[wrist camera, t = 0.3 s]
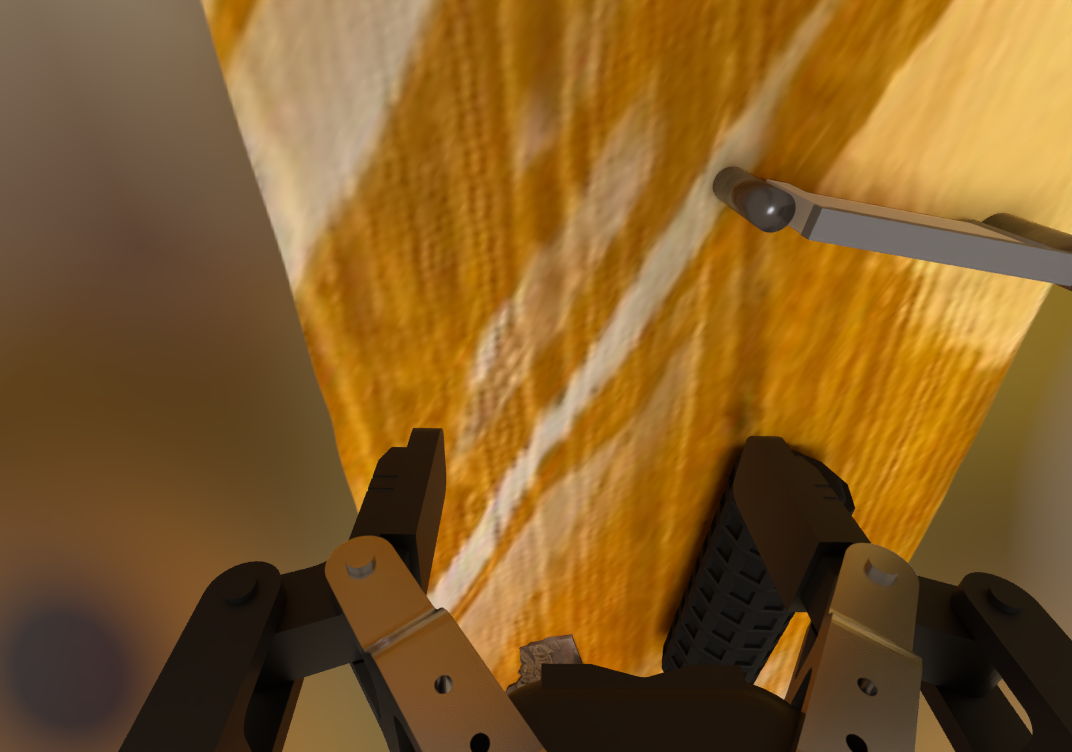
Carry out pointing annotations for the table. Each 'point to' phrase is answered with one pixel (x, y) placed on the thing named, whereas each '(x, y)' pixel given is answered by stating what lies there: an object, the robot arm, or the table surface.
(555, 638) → the brown flat slab
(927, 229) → the panel
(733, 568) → the roller
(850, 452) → the table surface
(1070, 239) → the gate frame
